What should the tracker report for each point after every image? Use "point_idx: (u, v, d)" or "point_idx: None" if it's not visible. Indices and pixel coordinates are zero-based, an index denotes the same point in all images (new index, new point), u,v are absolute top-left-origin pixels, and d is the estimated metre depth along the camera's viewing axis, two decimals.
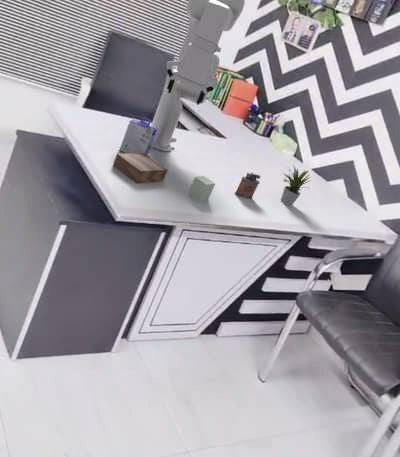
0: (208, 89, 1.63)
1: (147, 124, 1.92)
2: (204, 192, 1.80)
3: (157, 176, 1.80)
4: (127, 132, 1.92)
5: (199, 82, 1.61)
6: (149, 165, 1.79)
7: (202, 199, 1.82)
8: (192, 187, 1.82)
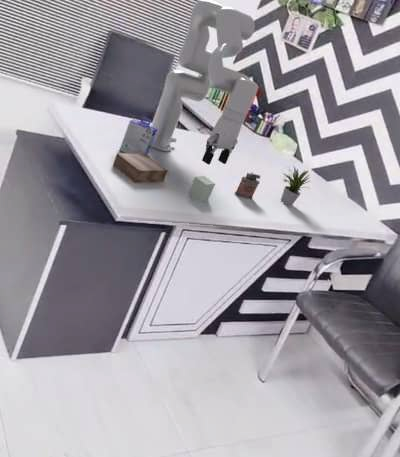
0: (231, 148, 1.81)
1: (147, 124, 1.92)
2: (204, 192, 1.80)
3: (156, 176, 1.80)
4: (127, 132, 1.92)
5: (230, 147, 1.77)
6: (148, 165, 1.79)
7: (202, 199, 1.82)
8: (192, 187, 1.82)
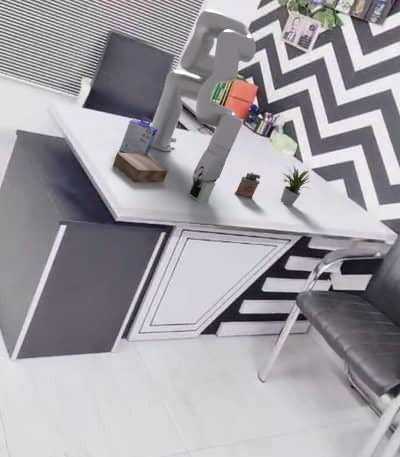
0: None
1: (147, 124, 1.92)
2: (204, 192, 1.80)
3: (156, 176, 1.80)
4: (127, 132, 1.92)
5: (215, 178, 1.82)
6: (148, 165, 1.79)
7: (202, 199, 1.82)
8: None
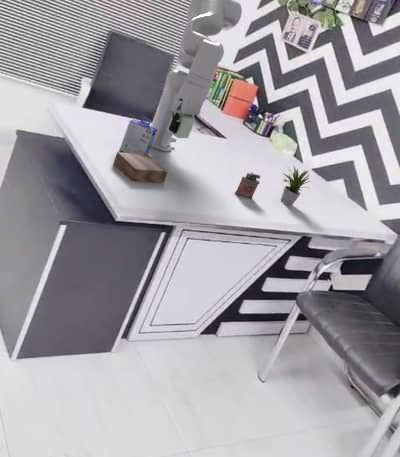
0: None
1: (147, 124, 1.92)
2: (184, 127, 1.71)
3: (155, 177, 1.79)
4: (127, 132, 1.92)
5: (195, 113, 1.73)
6: (148, 165, 1.78)
7: (182, 135, 1.73)
8: None
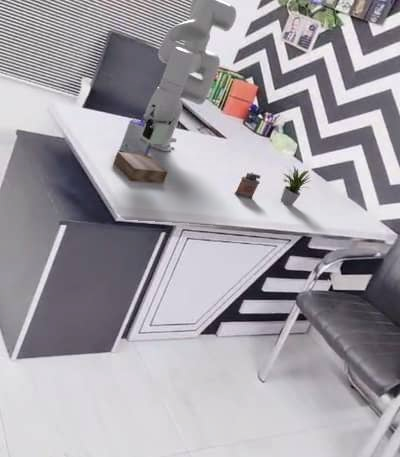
0: None
1: None
2: (157, 133, 1.72)
3: (155, 177, 1.79)
4: (127, 132, 1.92)
5: (169, 119, 1.74)
6: (147, 165, 1.78)
7: (155, 141, 1.74)
8: (144, 128, 1.74)
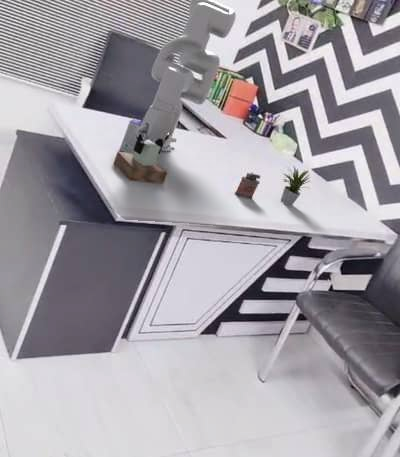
0: (165, 138, 1.81)
1: None
2: (148, 155, 1.76)
3: (154, 177, 1.79)
4: (127, 132, 1.92)
5: (162, 137, 1.77)
6: None
7: (147, 163, 1.78)
8: None
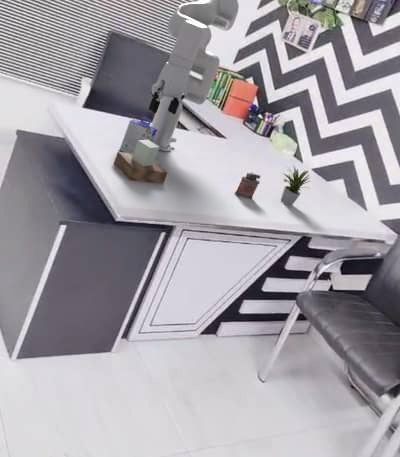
0: (181, 98, 1.75)
1: (147, 124, 1.92)
2: (148, 156, 1.76)
3: (154, 177, 1.79)
4: (127, 132, 1.92)
5: (178, 96, 1.71)
6: (147, 166, 1.78)
7: (147, 163, 1.78)
8: (135, 151, 1.77)
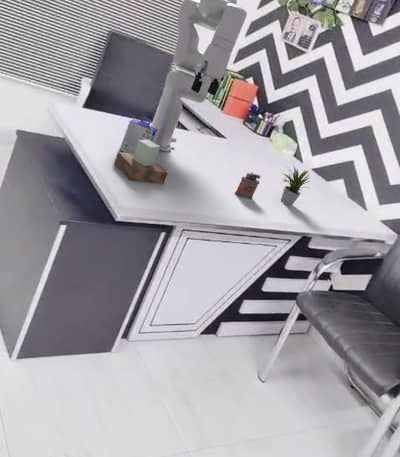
0: (221, 80, 1.83)
1: (147, 124, 1.92)
2: (149, 156, 1.76)
3: (155, 177, 1.79)
4: (127, 132, 1.92)
5: (219, 77, 1.79)
6: (147, 166, 1.78)
7: (148, 163, 1.78)
8: (136, 151, 1.77)
